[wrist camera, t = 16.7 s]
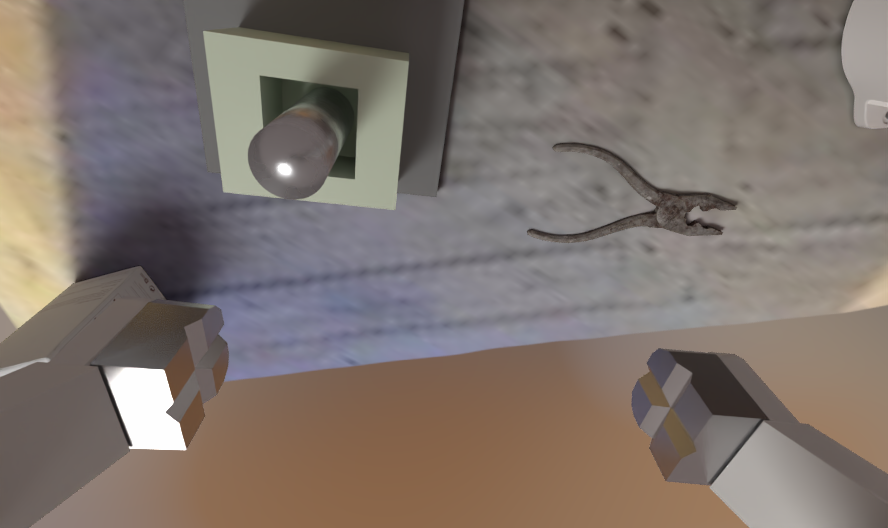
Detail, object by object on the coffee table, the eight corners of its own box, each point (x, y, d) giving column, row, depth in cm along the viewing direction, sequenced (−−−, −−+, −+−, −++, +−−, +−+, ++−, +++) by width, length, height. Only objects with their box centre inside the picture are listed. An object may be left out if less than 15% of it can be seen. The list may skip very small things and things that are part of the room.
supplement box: (120, 338, 44) (26, 445, 33) (71, 281, 40) (-53, 380, 30) (186, 322, 44) (112, 425, 33) (143, 263, 40) (43, 357, 29)
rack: (409, 53, 31) (408, 61, 26) (397, 181, 36) (395, 210, 31) (238, 27, 30) (202, 30, 25) (251, 165, 35) (223, 192, 30)
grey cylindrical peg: (355, 91, 32) (328, 129, 21) (353, 144, 33) (327, 203, 23) (299, 83, 31) (244, 118, 21) (301, 138, 33) (251, 195, 23)
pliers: (535, 146, 36) (761, 136, 37) (532, 143, 37) (755, 134, 38) (526, 246, 41) (726, 235, 42) (524, 242, 42) (721, 231, 43)
